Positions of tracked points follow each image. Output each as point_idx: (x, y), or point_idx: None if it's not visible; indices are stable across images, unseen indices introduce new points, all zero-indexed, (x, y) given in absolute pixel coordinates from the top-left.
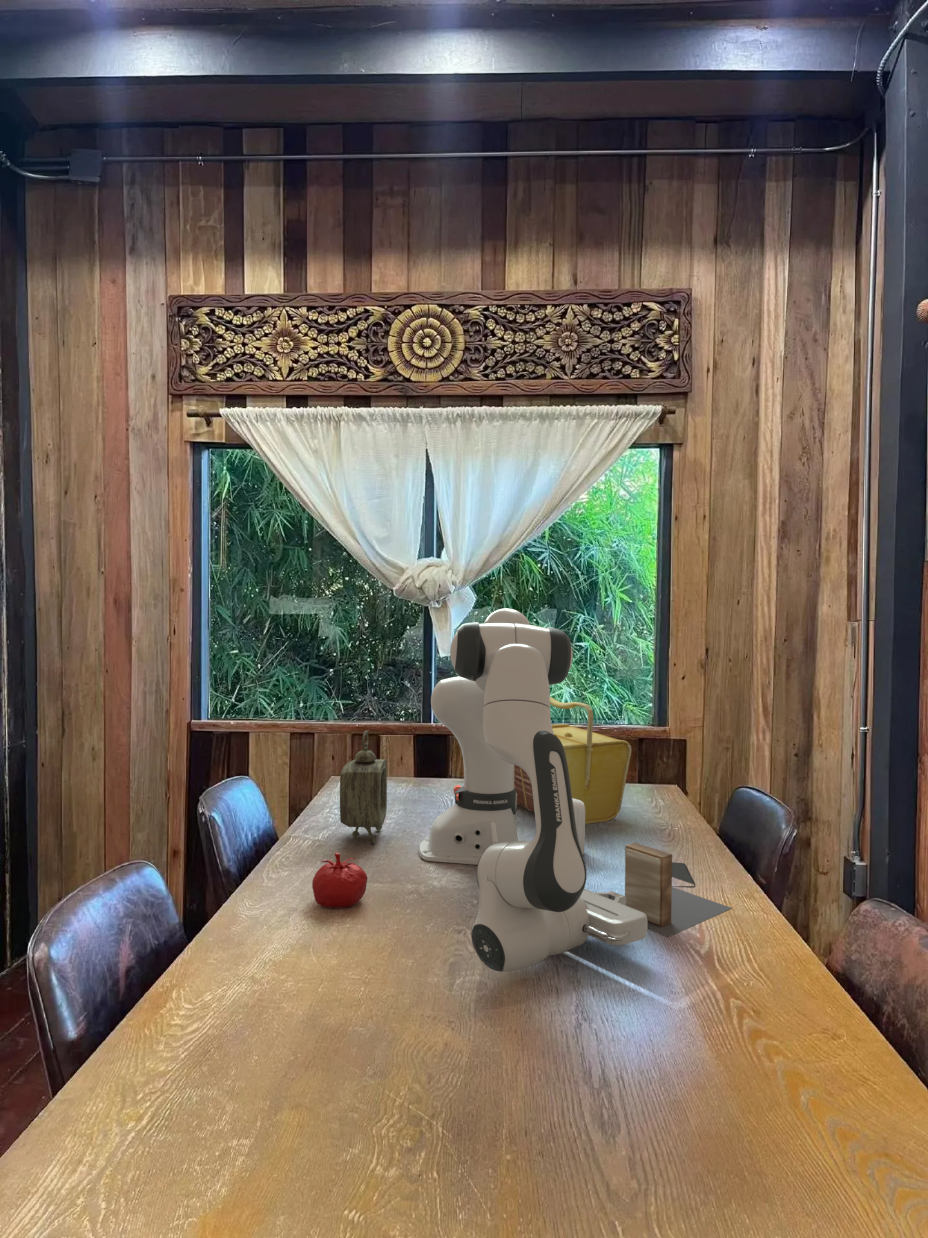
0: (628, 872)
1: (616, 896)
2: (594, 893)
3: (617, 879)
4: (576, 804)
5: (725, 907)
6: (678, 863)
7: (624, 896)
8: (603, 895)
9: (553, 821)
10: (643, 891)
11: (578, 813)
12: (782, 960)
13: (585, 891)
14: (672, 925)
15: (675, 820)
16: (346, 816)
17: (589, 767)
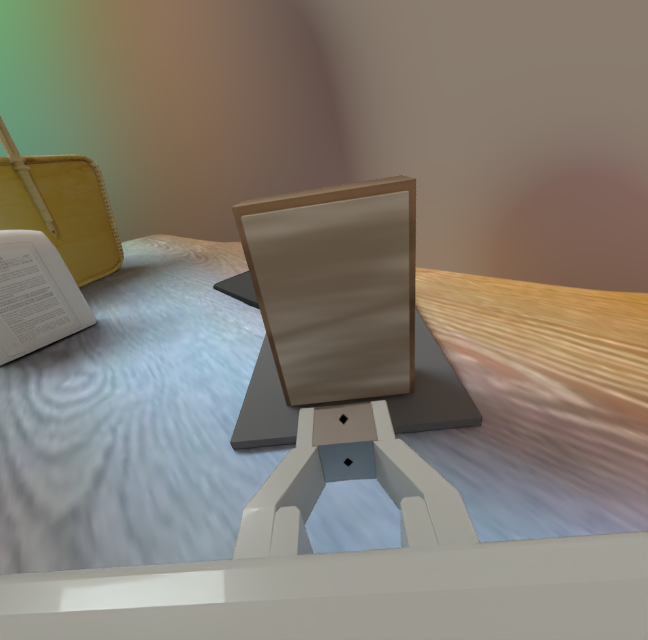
0: (276, 299)
1: (368, 433)
2: (296, 579)
3: (186, 332)
4: (23, 236)
5: None
6: (246, 272)
7: (385, 403)
8: (301, 476)
9: None
10: (347, 331)
11: (39, 253)
12: (636, 317)
13: (203, 633)
14: (417, 370)
15: (191, 246)
16: None
17: (40, 199)
